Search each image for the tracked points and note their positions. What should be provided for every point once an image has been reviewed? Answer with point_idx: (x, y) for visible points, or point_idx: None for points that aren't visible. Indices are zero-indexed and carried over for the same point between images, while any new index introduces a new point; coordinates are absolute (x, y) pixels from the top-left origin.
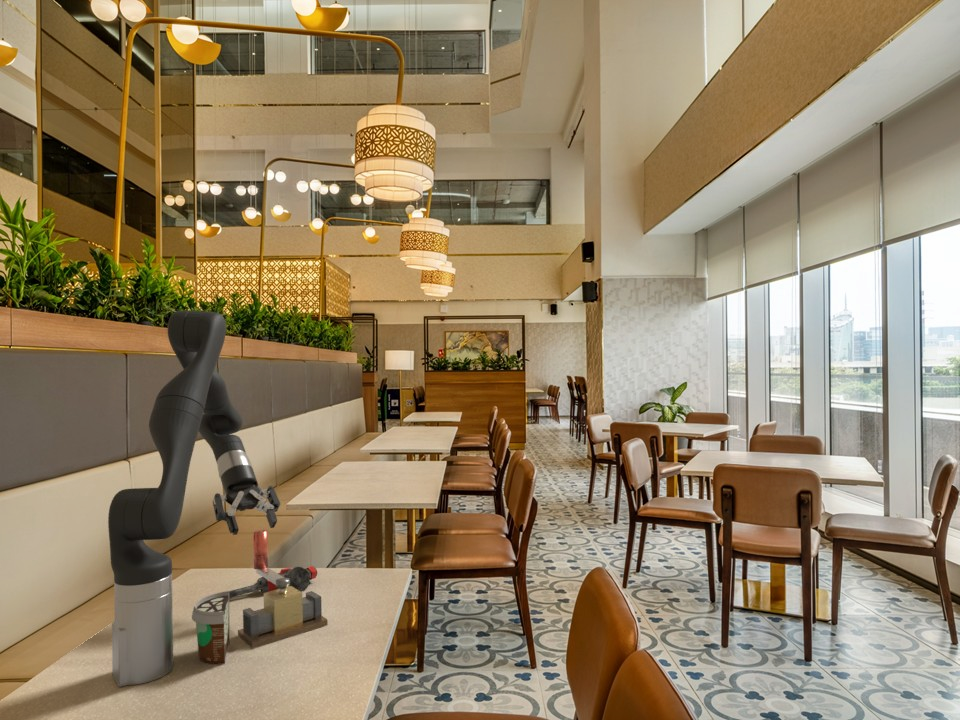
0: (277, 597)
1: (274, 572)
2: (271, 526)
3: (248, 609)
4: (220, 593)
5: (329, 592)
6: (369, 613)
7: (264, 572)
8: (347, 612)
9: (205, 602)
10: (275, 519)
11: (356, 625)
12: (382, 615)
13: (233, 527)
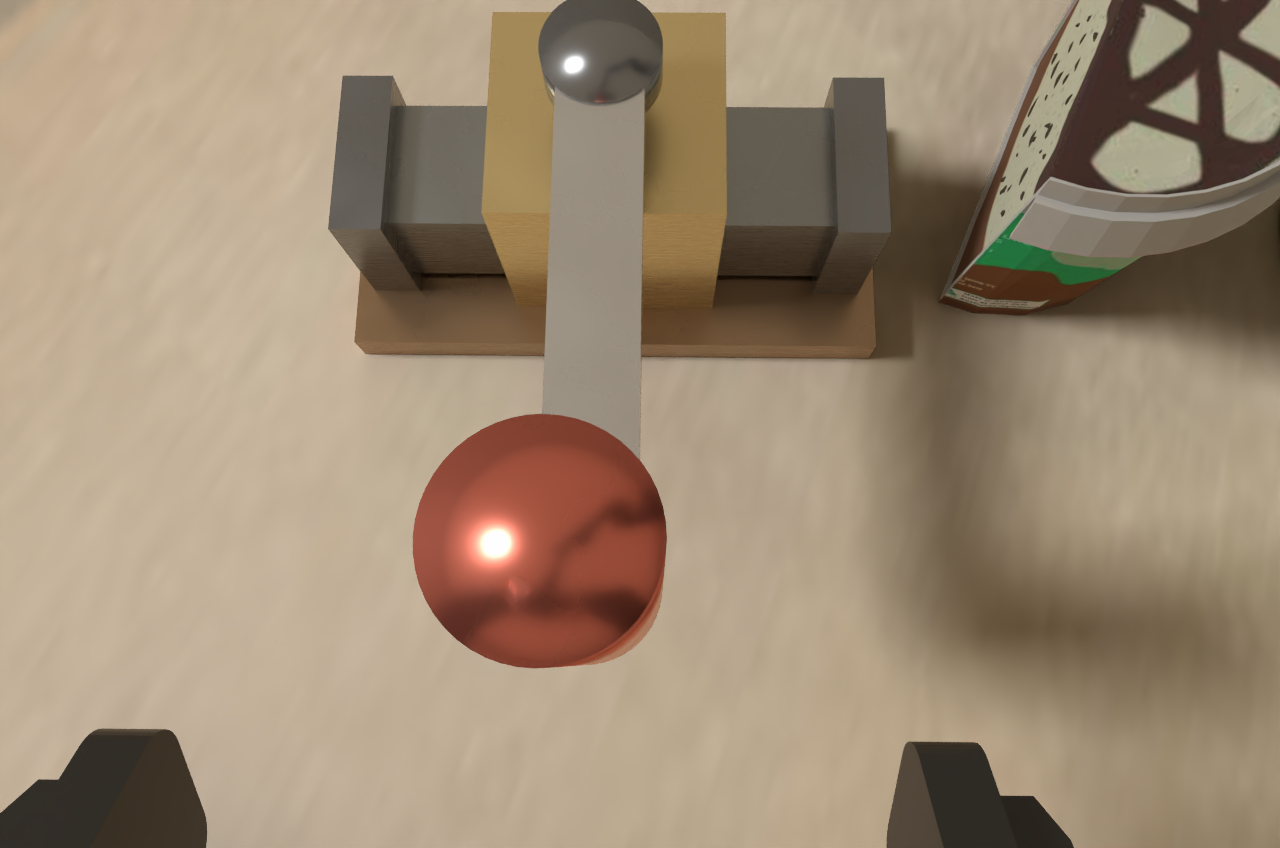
0: (682, 48)
1: (555, 311)
2: (191, 810)
3: (857, 208)
4: (1120, 197)
5: (27, 659)
6: (102, 108)
7: (630, 382)
8: (183, 215)
9: (1242, 169)
10: (24, 833)
11: (268, 13)
12: (72, 30)
13: (1012, 829)
